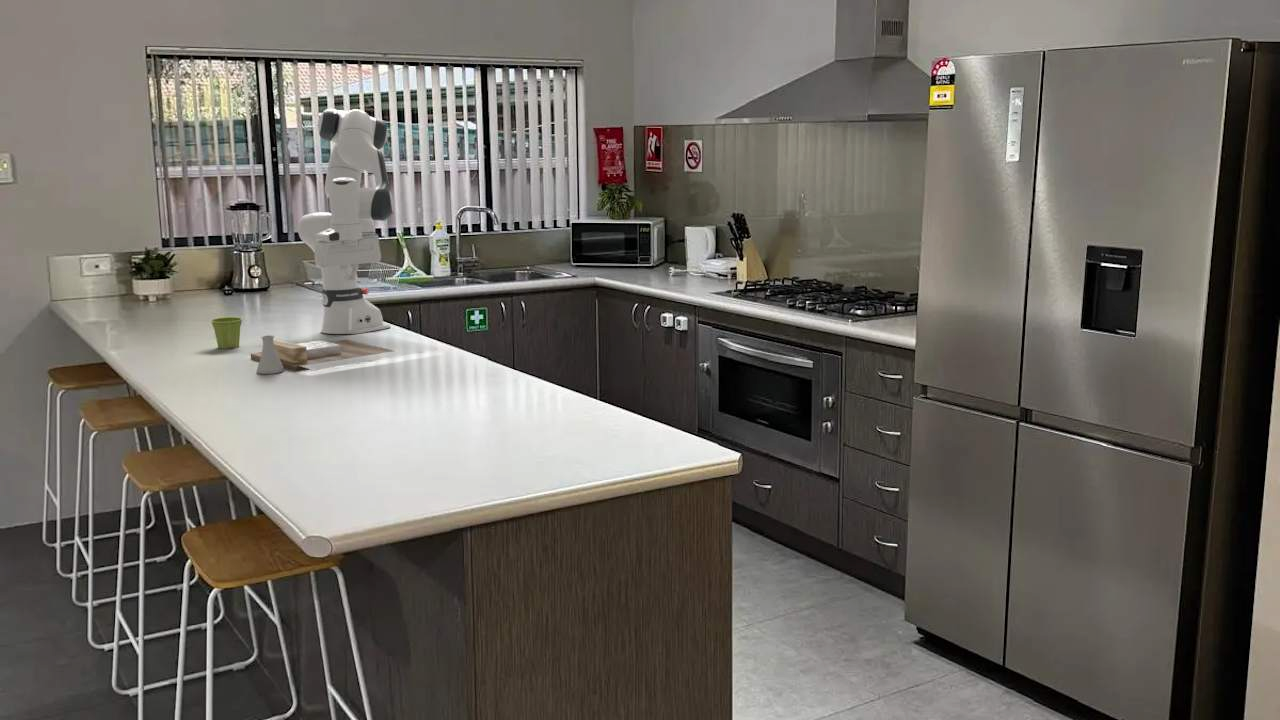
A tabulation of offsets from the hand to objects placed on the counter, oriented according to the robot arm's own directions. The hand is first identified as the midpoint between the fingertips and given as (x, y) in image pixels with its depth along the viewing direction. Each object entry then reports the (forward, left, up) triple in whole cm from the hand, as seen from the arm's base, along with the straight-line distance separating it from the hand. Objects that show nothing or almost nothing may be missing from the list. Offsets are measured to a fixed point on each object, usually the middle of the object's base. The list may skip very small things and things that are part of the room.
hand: (350, 280), depth 342 cm
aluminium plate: (+16, +4, -20) cm, 26 cm away
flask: (+33, +13, -21) cm, 41 cm away
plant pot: (+24, -34, -21) cm, 47 cm away
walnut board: (+13, +4, -21) cm, 25 cm away
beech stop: (+24, +4, -20) cm, 31 cm away
